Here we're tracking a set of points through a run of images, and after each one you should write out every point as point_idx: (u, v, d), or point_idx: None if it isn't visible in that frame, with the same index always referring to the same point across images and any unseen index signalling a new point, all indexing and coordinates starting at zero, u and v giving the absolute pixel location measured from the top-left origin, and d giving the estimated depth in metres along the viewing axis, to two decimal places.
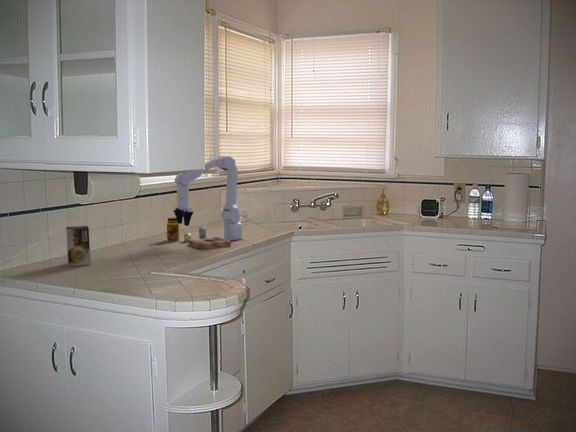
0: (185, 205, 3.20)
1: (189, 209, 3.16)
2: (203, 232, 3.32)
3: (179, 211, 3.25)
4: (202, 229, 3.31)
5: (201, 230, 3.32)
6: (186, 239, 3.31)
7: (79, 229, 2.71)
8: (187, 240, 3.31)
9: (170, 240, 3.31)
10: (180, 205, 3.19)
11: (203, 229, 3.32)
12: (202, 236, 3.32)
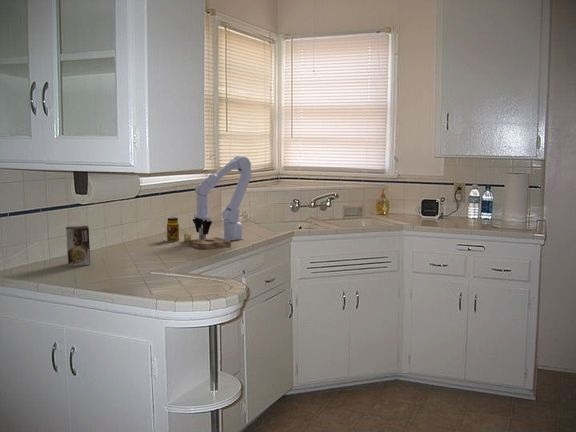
0: (204, 214, 3.30)
1: (208, 218, 3.26)
2: None
3: (198, 220, 3.35)
4: (202, 229, 3.31)
5: (201, 230, 3.32)
6: (186, 239, 3.31)
7: (79, 229, 2.71)
8: (187, 240, 3.31)
9: (170, 240, 3.31)
10: (199, 214, 3.29)
11: None
12: (202, 236, 3.32)
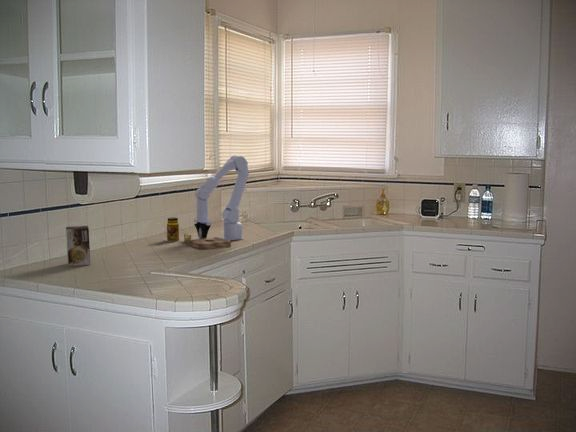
0: (204, 219, 3.30)
1: (208, 223, 3.27)
2: None
3: (200, 225, 3.34)
4: None
5: None
6: (186, 239, 3.31)
7: (79, 229, 2.71)
8: (187, 240, 3.31)
9: (170, 240, 3.31)
10: (200, 219, 3.30)
11: None
12: None
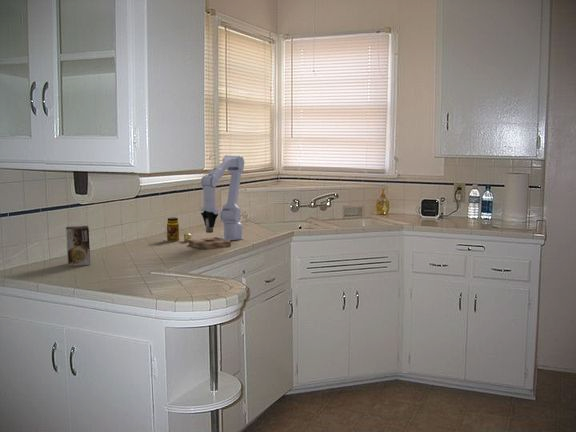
0: (212, 207, 3.17)
1: (216, 211, 3.14)
2: None
3: (207, 214, 3.21)
4: None
5: None
6: (186, 239, 3.31)
7: (79, 229, 2.71)
8: (187, 240, 3.31)
9: (170, 240, 3.31)
10: (207, 207, 3.17)
11: None
12: (209, 227, 3.19)
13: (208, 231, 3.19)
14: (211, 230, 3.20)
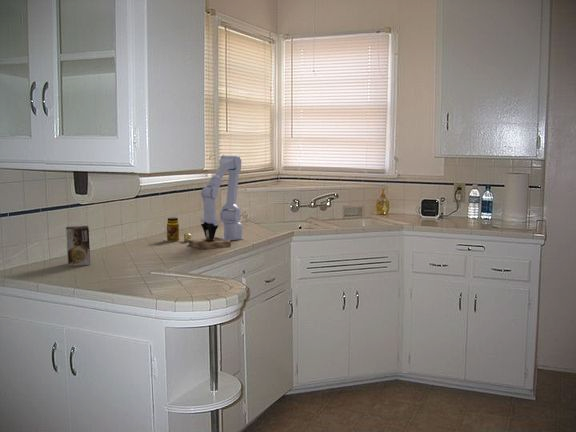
0: (212, 219, 3.18)
1: (216, 223, 3.14)
2: None
3: (207, 225, 3.22)
4: None
5: (208, 232, 3.19)
6: (186, 239, 3.31)
7: (79, 229, 2.71)
8: (187, 240, 3.31)
9: (170, 240, 3.31)
10: (207, 219, 3.17)
11: None
12: None
13: None
14: (211, 241, 3.20)
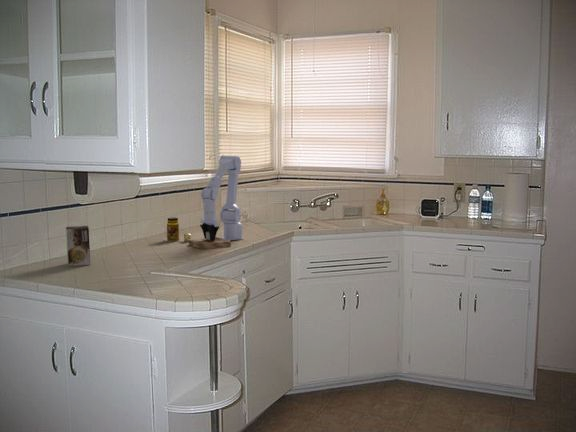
0: (212, 220, 3.18)
1: (216, 224, 3.14)
2: None
3: (206, 226, 3.23)
4: None
5: (208, 234, 3.19)
6: (186, 239, 3.31)
7: (79, 229, 2.71)
8: (187, 240, 3.31)
9: (170, 240, 3.31)
10: (207, 220, 3.17)
11: None
12: (210, 240, 3.20)
13: None
14: None
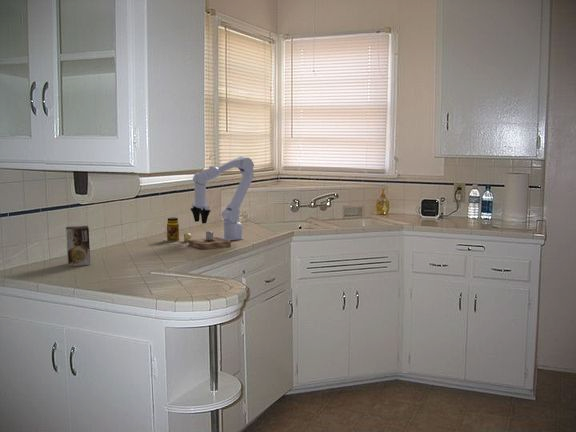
0: (202, 203, 3.28)
1: (207, 207, 3.25)
2: (211, 236, 3.20)
3: (196, 209, 3.34)
4: (210, 233, 3.19)
5: (209, 234, 3.19)
6: (186, 239, 3.31)
7: (79, 229, 2.71)
8: (187, 240, 3.31)
9: (170, 240, 3.31)
10: (198, 203, 3.28)
11: (211, 233, 3.20)
12: (210, 240, 3.20)
13: None
14: None
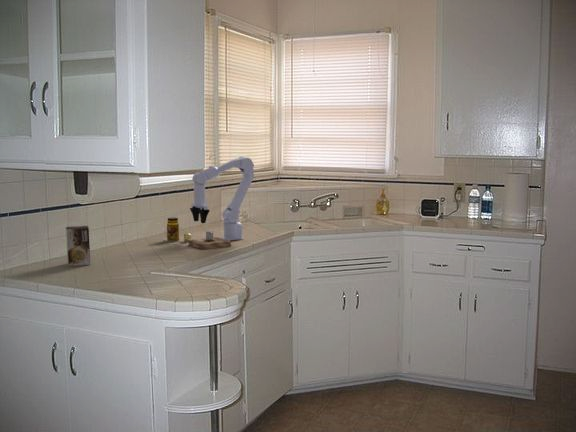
0: (202, 203, 3.29)
1: (206, 207, 3.26)
2: (211, 236, 3.20)
3: (195, 209, 3.35)
4: (210, 233, 3.19)
5: (209, 234, 3.19)
6: (186, 239, 3.31)
7: (79, 229, 2.71)
8: (187, 240, 3.31)
9: (170, 240, 3.31)
10: (197, 203, 3.29)
11: (211, 233, 3.20)
12: (210, 240, 3.20)
13: None
14: None
